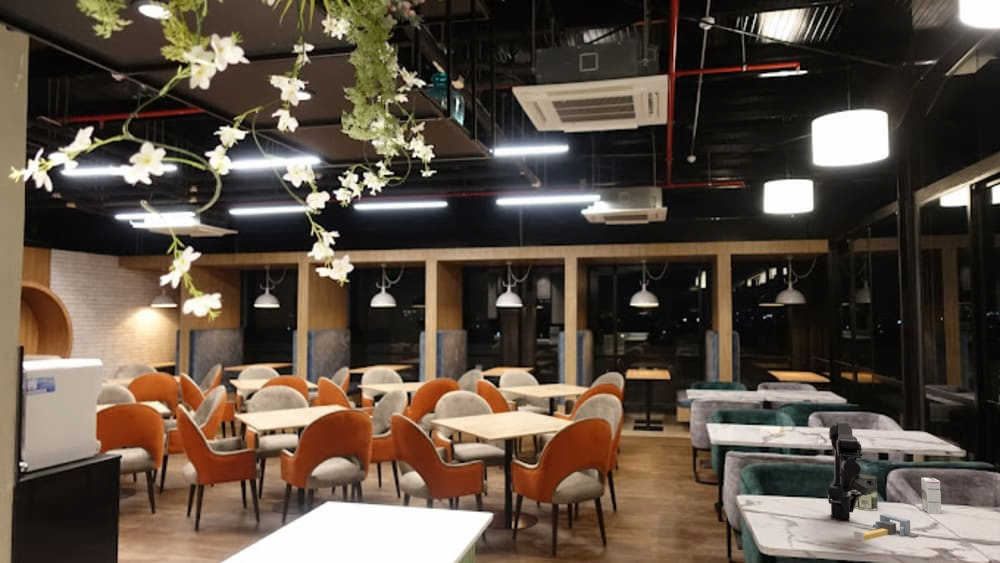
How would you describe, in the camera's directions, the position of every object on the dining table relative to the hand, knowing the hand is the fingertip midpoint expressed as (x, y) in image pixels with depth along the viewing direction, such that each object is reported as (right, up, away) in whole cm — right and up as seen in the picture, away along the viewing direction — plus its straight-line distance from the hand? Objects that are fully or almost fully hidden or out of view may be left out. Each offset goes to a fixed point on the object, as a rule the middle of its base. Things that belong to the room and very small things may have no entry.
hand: (849, 512), depth 250 cm
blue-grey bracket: (+25, -12, +13) cm, 30 cm away
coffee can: (+33, -15, +49) cm, 61 cm away
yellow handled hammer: (+14, -12, +7) cm, 20 cm away
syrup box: (+60, -15, +43) cm, 75 cm away
